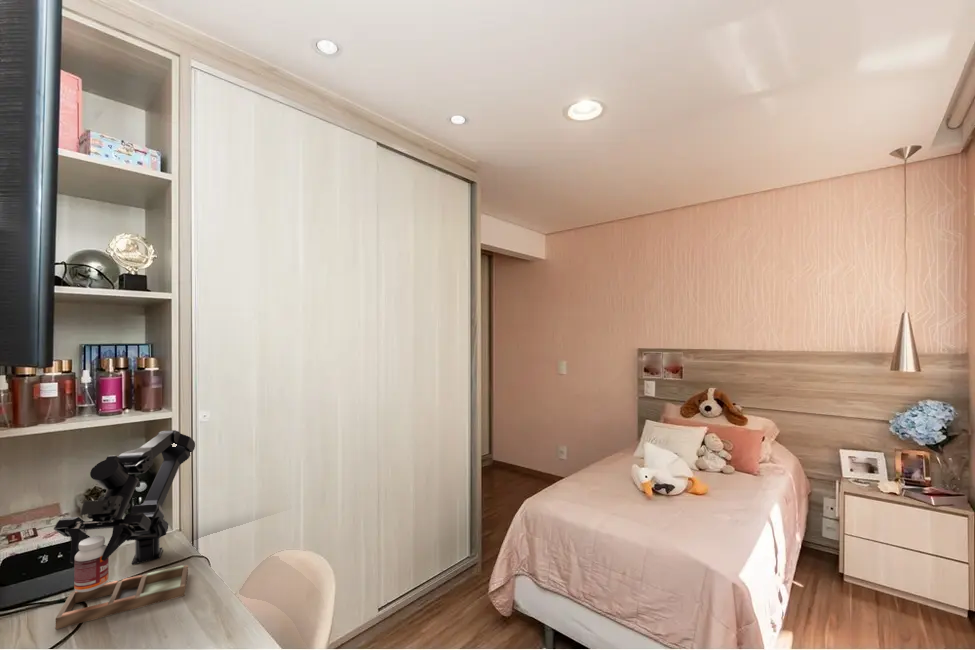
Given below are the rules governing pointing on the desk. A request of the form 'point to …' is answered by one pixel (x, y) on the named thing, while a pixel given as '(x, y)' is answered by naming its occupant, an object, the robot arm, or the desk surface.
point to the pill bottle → (90, 565)
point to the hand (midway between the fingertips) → (87, 561)
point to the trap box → (125, 595)
